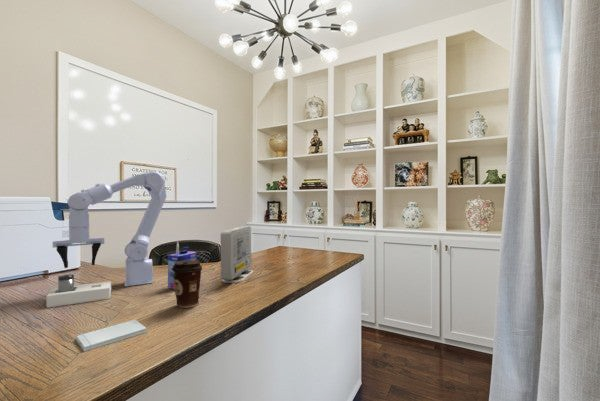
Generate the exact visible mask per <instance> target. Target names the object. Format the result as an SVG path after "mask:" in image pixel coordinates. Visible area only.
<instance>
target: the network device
mask: <svg viewBox="0 0 600 401" xmlns="http://www.w3.org/2000/svg"><path fill="white" fill-rule="evenodd" d="M251 230H252V228H251V226H248V225H247V226H242V225H241V226H238V227H235V228H230V229H226V230H222V231H221V233H220V277H221V283H225V284H237V283H242V282H244V281H245V280H246V279H248V278H249V277H250V276H252V275H253V274H254V270H252V269H250V270H249V268H250V267H252V266H251V265H252V231H251ZM242 273H246V274H242ZM235 278H236V279H237V278H240V279H239V280H234V279H235Z"/></svg>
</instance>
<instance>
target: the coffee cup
mask: <svg viewBox="0 0 600 401" xmlns="http://www.w3.org/2000/svg"><path fill="white" fill-rule="evenodd" d="M171 270H173V271H174V287H175V289H174V294H175V300H176V306H177V307H179V308H184V309H187V308H194V307H196V306H198V305H199V303H200V301H199V299H200V292H201V291H200V288H201V277H202V275H201V274H202V270H203V266H202V265H201V262H200V261H190V260H186V261H178V262H176V263H175V264H174V267H173V268H172V269H171Z"/></svg>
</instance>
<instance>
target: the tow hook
mask: <svg viewBox="0 0 600 401" xmlns="http://www.w3.org/2000/svg"><path fill="white" fill-rule="evenodd" d="M179 241H180V240H176V247H175V249H176V250H175V253H180V244H179Z"/></svg>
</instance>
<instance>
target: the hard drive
mask: <svg viewBox="0 0 600 401" xmlns="http://www.w3.org/2000/svg"><path fill="white" fill-rule="evenodd" d="M147 332H148V331H147V327H146V326H144V325H143V324H142V323H141V322H139V321H138V320H137V319H133V320H132V319H131V320H129V321H126V322H122V323H118V324H114V325H111V326H107V327H104V328H100V329H97V330H93V331H89V332H85V333H82V334H77V335H76V336H75V340H76V342H77V343H78V345H79V347H80V348H81V349H82V350H83V352H87V351H91V350H93V349H97V348H100V347H103V346H106V345H110V344H114V343H116V342H120V341H123V340H126V339H130V338H132V337H133V338H134V337H136V336H139V335H142V334H145V333H147Z"/></svg>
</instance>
